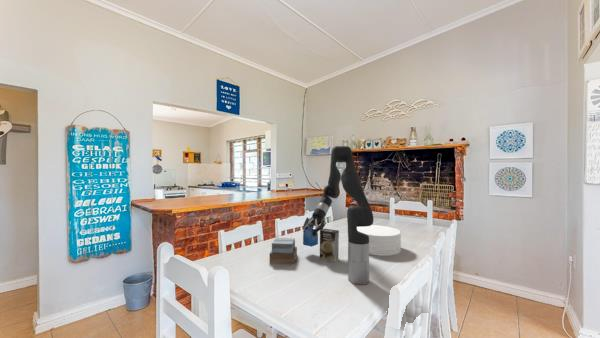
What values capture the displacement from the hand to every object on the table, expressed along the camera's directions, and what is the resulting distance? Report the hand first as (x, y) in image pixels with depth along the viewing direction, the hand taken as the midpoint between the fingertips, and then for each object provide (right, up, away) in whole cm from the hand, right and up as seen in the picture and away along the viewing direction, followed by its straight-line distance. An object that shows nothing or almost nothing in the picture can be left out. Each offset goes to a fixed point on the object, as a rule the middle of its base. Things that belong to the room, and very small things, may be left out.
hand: (308, 234), depth 146 cm
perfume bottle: (+1, -6, +1) cm, 7 cm away
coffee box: (+11, -12, -8) cm, 18 cm away
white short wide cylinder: (+43, -12, +13) cm, 47 cm away
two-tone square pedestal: (-14, -12, -7) cm, 20 cm away
